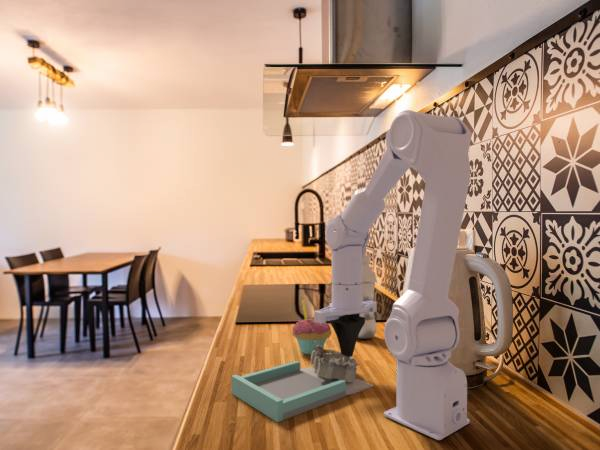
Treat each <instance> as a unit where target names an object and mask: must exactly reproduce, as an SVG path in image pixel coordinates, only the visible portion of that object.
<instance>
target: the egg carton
mask: <svg viewBox="0 0 600 450" xmlns="http://www.w3.org/2000/svg"><path fill="white" fill-rule="evenodd" d="M314 344H315V349H314V351H313V352H312V354H310V362H309V363H310V364H311V365H313V366H312V367H313V368H314V369H315V370H317V375H318V376H321V377H324V378H328V379H333V378H334V379H339V380H344V381H346V382H354V380H355V378H356V375H357V370H358V369H357V367H358V366H360V363H358V362H357V359H355V358H353V356H351V357H347V356H344V355H342V354H341V351H338V352H334V351H333V350H332V349H331V350H329V352H325V351H324V347H322V346H320V345H318V344H316V341H314Z"/></svg>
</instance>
